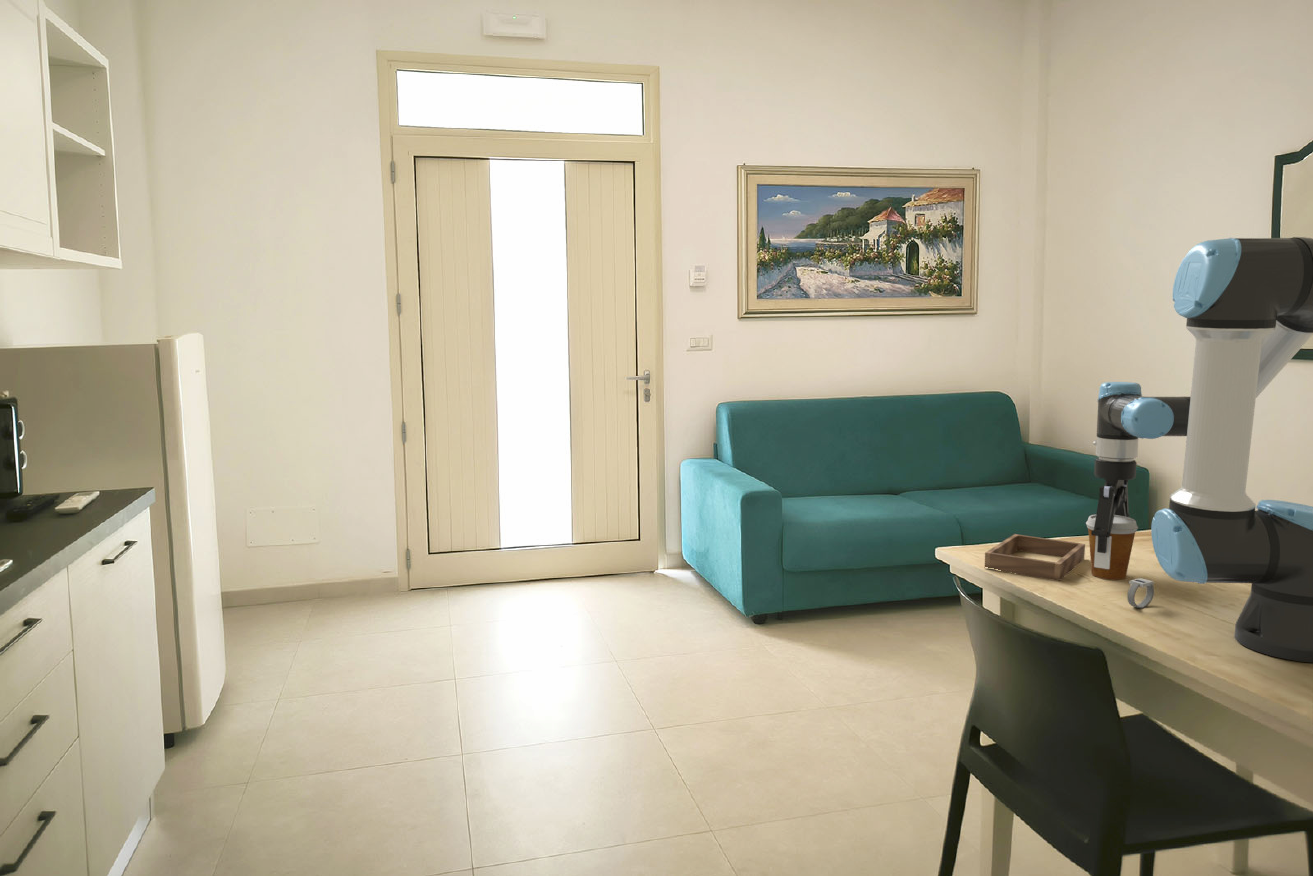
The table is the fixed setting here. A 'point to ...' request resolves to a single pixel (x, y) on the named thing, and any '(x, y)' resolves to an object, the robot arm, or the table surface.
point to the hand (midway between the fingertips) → (1109, 560)
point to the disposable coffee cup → (1114, 547)
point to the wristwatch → (1133, 588)
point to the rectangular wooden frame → (1055, 571)
